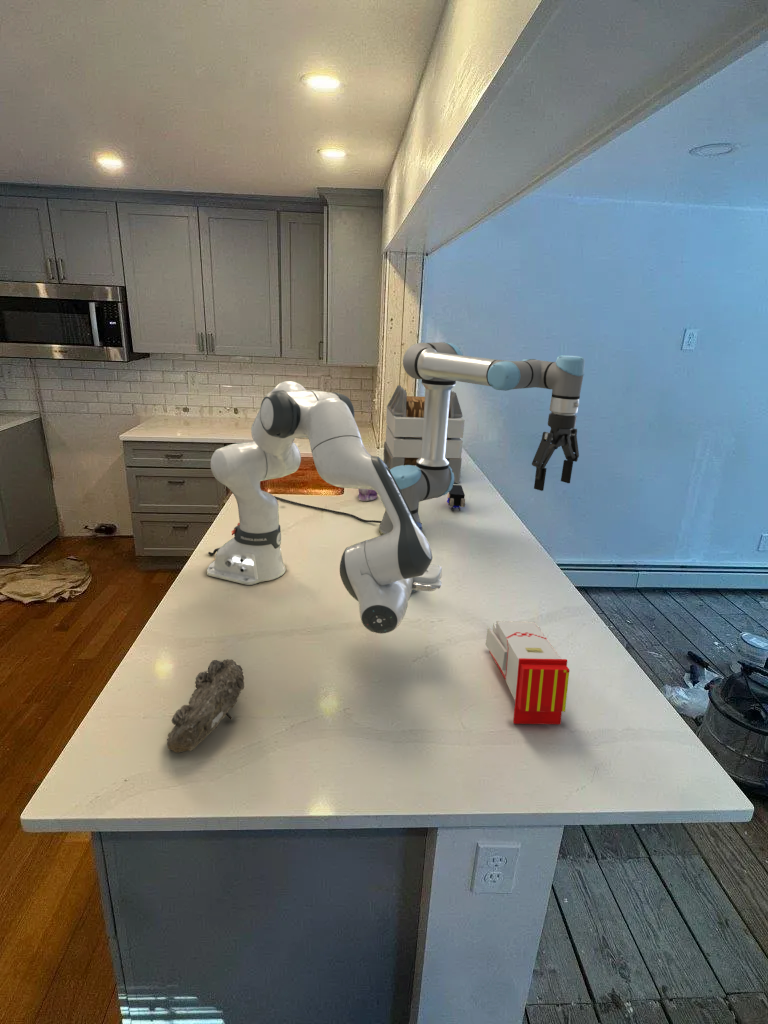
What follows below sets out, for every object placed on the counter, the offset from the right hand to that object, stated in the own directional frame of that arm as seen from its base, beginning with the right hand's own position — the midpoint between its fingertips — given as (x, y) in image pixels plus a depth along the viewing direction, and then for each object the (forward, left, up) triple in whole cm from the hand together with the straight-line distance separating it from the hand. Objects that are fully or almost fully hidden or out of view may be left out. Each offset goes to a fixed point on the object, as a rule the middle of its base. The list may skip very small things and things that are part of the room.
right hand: (552, 485), depth 166 cm
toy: (+30, -50, -28) cm, 65 cm away
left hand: (-3, -56, -10) cm, 57 cm away
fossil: (0, -107, -28) cm, 110 cm away
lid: (-16, -40, -9) cm, 44 cm away
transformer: (-101, +46, -28) cm, 115 cm away
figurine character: (-57, +24, -28) cm, 68 cm away
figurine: (-85, +1, -28) cm, 90 cm away
